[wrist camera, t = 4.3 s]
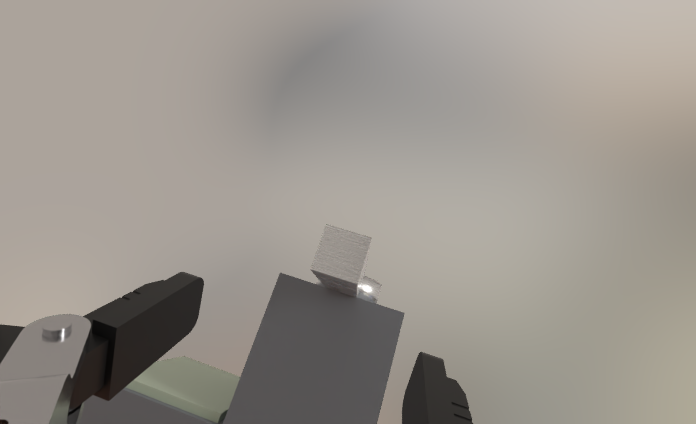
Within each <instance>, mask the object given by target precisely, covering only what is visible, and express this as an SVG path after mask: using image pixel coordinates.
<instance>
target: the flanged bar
mask: <svg viewBox="0 0 696 424" xmlns="http://www.w3.org/2000/svg"><path fill="white" fill-rule="evenodd" d="M370 243H371V237H367V236H364V235H360V234H357V233H354V232H351V231H348V230H344V229H341V228H338V227H334V226H331V225H328V224H326V226H325V229H324V232H323V235H322V237H321V240H320V243H319V246H318V249H317V252H316V254H315V257H314V260H313V263H312V266H311V271H312V272H313V273H314V274H315V275H316V277H317V278H318V280H317V284H316V285H320V286H323V287H326V288H329V289H332V290H335V291H338V292H341V293H344V294H347V295H350V296H353V297H357V298H360V299H363V300H366V301H369V302H372V303H375V304H376V303H377V299H378V296H379V292H380V289H381V284H380V283H379V282H377V281H375V280H373V279H371V278H368V277H366V276H364V273H365V268H366V263H367V258H368V253H369V248H370Z"/></svg>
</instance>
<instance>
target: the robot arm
mask: <svg viewBox="0 0 696 424" xmlns="http://www.w3.org/2000/svg"><path fill="white" fill-rule="evenodd" d="M203 286H204V281H203V279H202V278H200V277H197V276H194V275H191V274H188V273H185V272H180V273H178V274H176V275H174V276H173V277H171V278H169V279H167V280H165V281H164V280H161V281H157V282H152V283H149V284H145V285H143V286H142V287H140V288H138V289H136V290H134V291H133V292H130V293H128V294H126V295H124V296H123V297H122V298H118V299H117V300H114V301H112V302H110V303H108V304H106V305H104V306H102V307H100V308H99V309H97V310H95V311H93V312H91V313H89V314H87V315H85V316H83V317H82V316H79V315H72V314H63V315H55V316H49V317H45V318H42V319H39V320H37V321H34V322H32V323H30V324H29V325H27V326H26V327H19V326H10V325H0V424H79V423H80V419H81V416H82V413H83V408H84V401H86V400H87V399H88V398H90V397H91V396H92V395H94V396H97V397H99V398H102V399H104V400H107V401H110V400H111V399H112V398H113V397H114V396H115V395H117V394H118V393H119V392H120V391H121V390H123V389H124V388H125V387H126V386H127V385H128V384H130V383H131V382H132V381H133V380H134V379H136V378H137V377H138V376H139V375H140V374H141V373H143V372H144V371H145V370H146V369H147V368H149V367H150V366H151V365H152V364H153V363H155V362H156V361H157V360H158V359H159V358H160V357H162V356H163V355H164V354H165V353H166V352H168V351H169V350H170V349H171V348H172V347H173V346H175V345H176V344H177V343H178V342H179V341H181V340H182V339H183V338H184V337H185V336H186V335H188V334H189V333H190V332H191V330H192V329H193V327H194V326H195V324H196V321H197V319H198V315H199V309H200V304H201V298H202V292H203ZM402 424H473V423H472V418H471V414H470V411H469V406H468V402H467V399H466V394H465V393H464V391H463V390H462V389H461V387H460V385H459V384H458V383H457V381H456V380H453V379H451V378H448V377H447V376H446V371H445V366H444V362H443V359H441V358H438V357H435V356H432V355H429V354H426V353H423V352H420V353H419V355H418V357H417V360H416V363H415V366H414V368H413V371H412V374H411V377H410V380H409V383H408V386H407V389H406V391H405V395H404V400H403V407H402Z"/></svg>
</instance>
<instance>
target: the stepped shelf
mask: <svg viewBox="0 0 696 424" xmlns="http://www.w3.org/2000/svg"><path fill="white" fill-rule="evenodd" d="M403 317H404V313H403V312H400V311H397V310H394V309H390V308H387V307H384V306H381V305H378V304H375V303H372V302H369V301H366V300H363V299H360V298H357V297H353V296H350V295H347V294H344V293H341V292H338V291H335V290H332V289H329V288H326V287H323V286H320V285H316V284H313V283H310V282H307V281H304V280H301V279H298V278H295V277H292V276H289V275H286V274H282V273H280V274H279V277H278V280H277V282H276V285H275V288H274V290H273V293H272V296H271V298H270V301H269V303H268V306H267V309H266V311H265V314H264V317H263V319H262V322H261V324H260V327H259V330H258V332H257V335H256V338H255V340H254V343H253V345H252V348H251V351H250V354H249V356H248V359H247V361H246V364H245V367H244V369H243V372H242V375H241V377H239V376H236V375H234V374H231V373H228V372H226V371H223V370H220V369H218V368H215V367H212V366H209V365H207V364H204V363H201V362H199V361H196V360H193V359H190V358H188V357H185V356H183V357H178V358H172V359H167V360H162V361H157V362H155V363H153V364H152V365H151V366H150V367H149V368H147V369H146V370H145V371H144V372H143V373H141V374H140V375H139V376H138V377H137V378H136V379H134V380H133V381H132V382H131V383H130V384H128V385H127V386H126V387H125V388H124V389H123V390H121V391H120V392H119V393H118V394H117V395H115V396H114V397H113V398H112V399H111V400H110V401H107V400H104V399H102V398H99V397H97V396H94V395H92V396H91V397H90V398H88V399H87V400H86V401H84V408H83V413H82V416H81V419H80V423H79V424H377V421H378V417H379V413H380V409H381V405H382V401H383V397H384V393H385V389H386V385H387V381H388V377H389V373H390V369H391V365H392V361H393V357H394V353H395V349H396V345H397V341H398V337H399V333H400V329H401V325H402V321H403Z"/></svg>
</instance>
